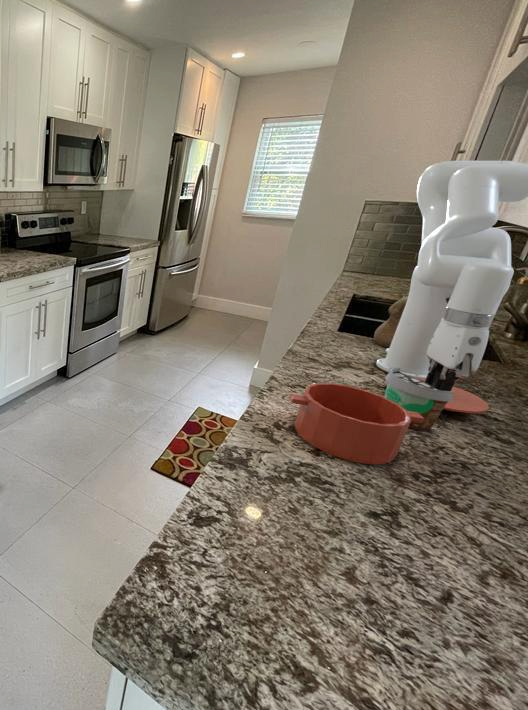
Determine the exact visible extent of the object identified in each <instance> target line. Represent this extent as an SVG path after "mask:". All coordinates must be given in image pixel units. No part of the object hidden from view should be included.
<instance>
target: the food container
mask: <svg viewBox="0 0 528 710" xmlns="http://www.w3.org/2000/svg"><path fill="white" fill-rule="evenodd" d="M400 369H401V368H395V369H393V370H392V371H390V372H387V375H386V376H385V378H384V381H386V382H388V385H387V384H386V390H385V393H384V397H385V398H387V399H389V400H391V401H393V402H395V403H397V404H398V405H400V406H402V407H403V408H404V409H405V410H406V411H412V412H418V413H419V414H420V415H421V416H422V417H423V418H424V421H423V423H419V422H413V421H411V422H410V425H409V427H408V429H410V428H411V429H413V430H419V431H431V429H432V428H433V426H434V425H435V423H436V421H437V420H438V418H439V416H440V415H441V413H442V411H443V410H444V409H443V408H444V407H445V405H446V403H447V402H452V400H453V395H452V394H453V391H440V390H438V389H436V388H434V387H433V386H431V385H430V384H428V383H426V382H425V381H422V380H419V379H416V378H413V377H410V376H408V375H406V374H403V373H401V372H400Z"/></svg>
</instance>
